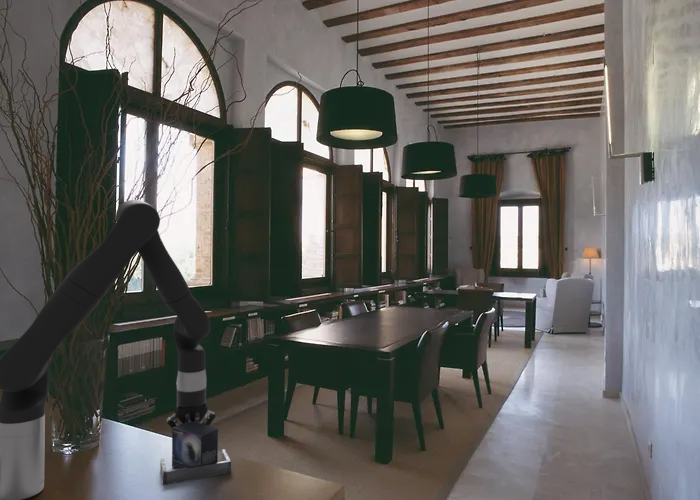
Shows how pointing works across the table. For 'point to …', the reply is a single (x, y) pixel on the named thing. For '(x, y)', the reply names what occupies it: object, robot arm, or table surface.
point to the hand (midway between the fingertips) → (191, 449)
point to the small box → (194, 444)
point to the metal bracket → (196, 471)
